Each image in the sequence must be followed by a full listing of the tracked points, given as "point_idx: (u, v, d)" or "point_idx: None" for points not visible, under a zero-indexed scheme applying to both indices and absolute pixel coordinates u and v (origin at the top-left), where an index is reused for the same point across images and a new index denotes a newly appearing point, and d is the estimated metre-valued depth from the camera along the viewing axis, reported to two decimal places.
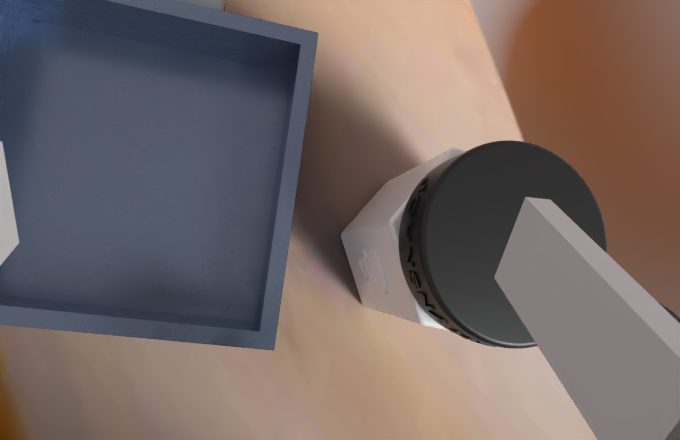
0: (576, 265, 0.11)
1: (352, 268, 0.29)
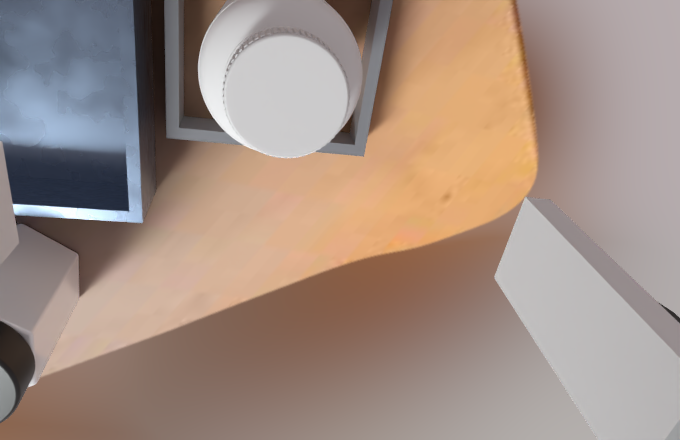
0: (576, 265, 0.11)
1: None
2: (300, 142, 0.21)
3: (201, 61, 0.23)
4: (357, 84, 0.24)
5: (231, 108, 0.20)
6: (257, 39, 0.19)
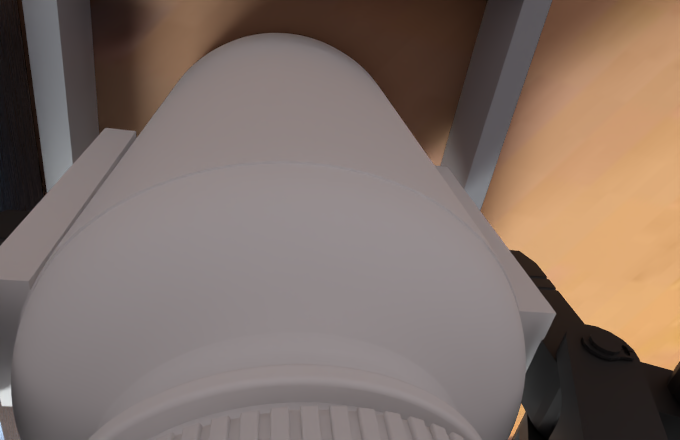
0: None
1: None
2: None
3: None
4: (513, 424, 0.08)
5: None
6: None
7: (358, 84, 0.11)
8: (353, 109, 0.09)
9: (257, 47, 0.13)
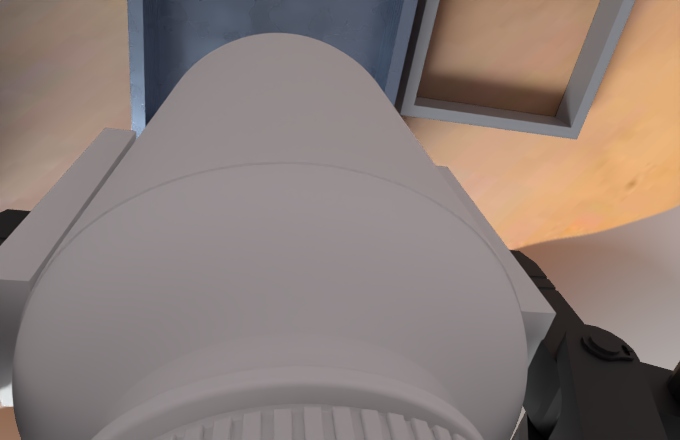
0: None
1: None
2: None
3: None
4: (515, 425, 0.08)
5: None
6: None
7: (359, 84, 0.11)
8: (354, 109, 0.09)
9: (258, 47, 0.13)
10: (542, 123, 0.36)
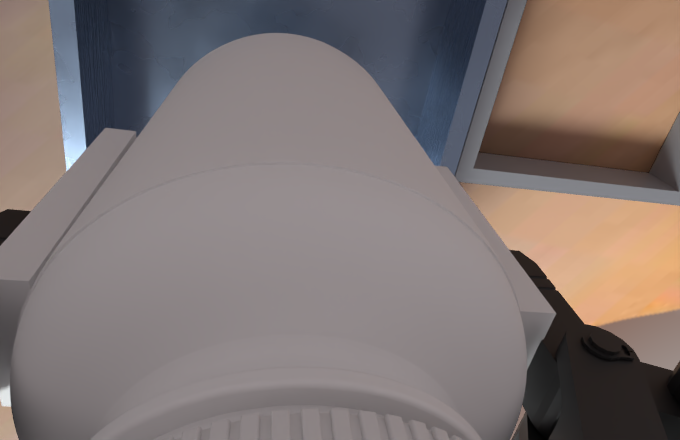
0: None
1: None
2: None
3: None
4: (514, 426, 0.08)
5: None
6: None
7: (358, 84, 0.11)
8: (353, 109, 0.09)
9: (257, 47, 0.13)
10: (641, 187, 0.27)
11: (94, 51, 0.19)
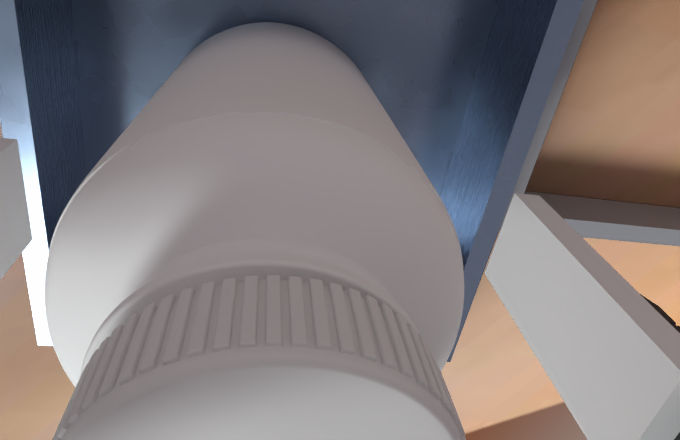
0: (562, 259, 0.11)
1: None
2: None
3: (44, 297, 0.08)
4: (455, 335, 0.09)
5: None
6: (148, 373, 0.05)
7: (335, 63, 0.13)
8: (325, 80, 0.10)
9: (248, 33, 0.14)
10: None
11: (52, 81, 0.15)
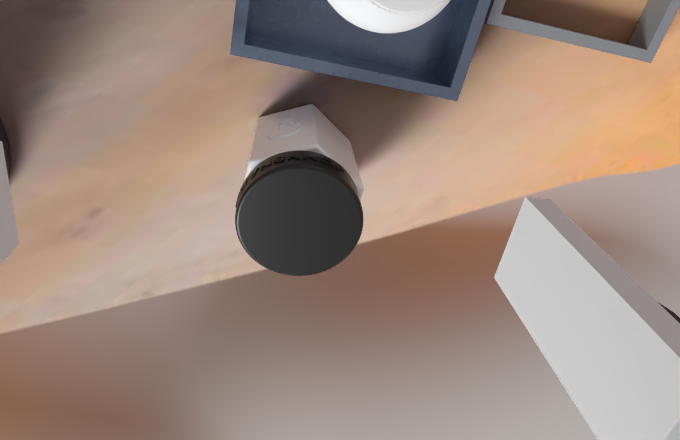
0: (576, 265, 0.11)
1: (286, 111, 0.39)
2: None
3: None
4: None
5: None
6: None
7: None
8: None
9: None
10: (620, 43, 0.37)
11: None
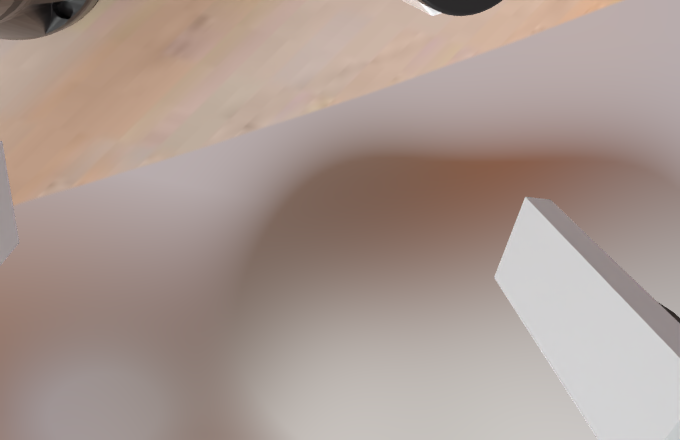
0: (576, 265, 0.11)
1: None
2: None
3: None
4: None
5: None
6: None
7: None
8: None
9: None
10: None
11: None
